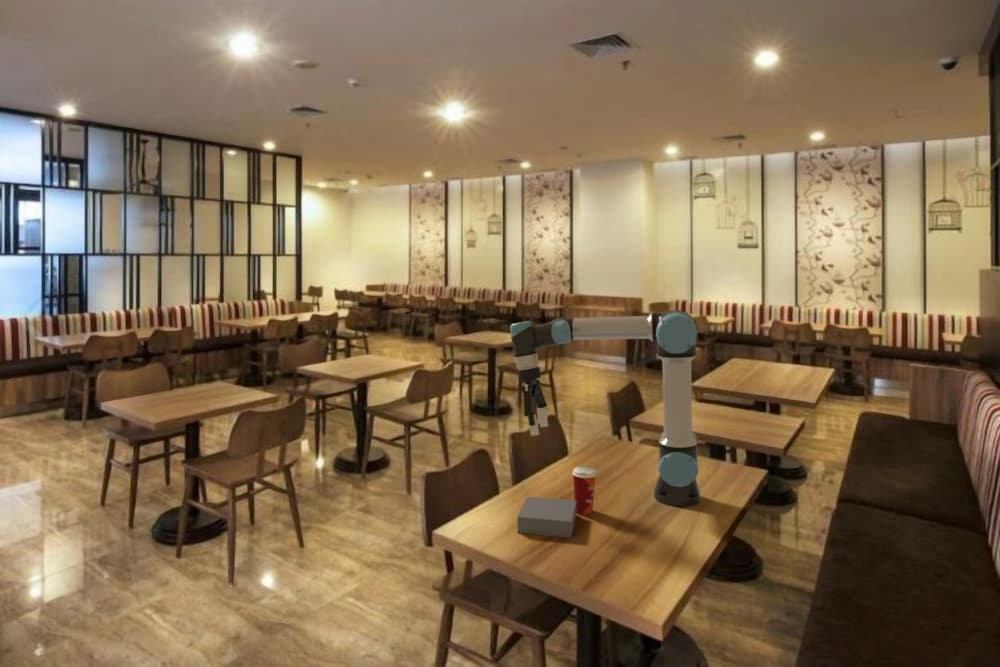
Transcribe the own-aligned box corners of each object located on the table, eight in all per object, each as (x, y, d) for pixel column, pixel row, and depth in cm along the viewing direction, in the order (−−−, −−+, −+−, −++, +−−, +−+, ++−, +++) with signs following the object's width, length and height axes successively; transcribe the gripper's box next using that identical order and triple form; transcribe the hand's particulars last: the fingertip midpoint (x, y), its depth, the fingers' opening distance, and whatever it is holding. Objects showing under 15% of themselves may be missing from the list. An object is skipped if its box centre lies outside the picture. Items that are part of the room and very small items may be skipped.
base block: (576, 515, 200) (576, 500, 200) (571, 537, 185) (571, 521, 184) (526, 511, 204) (526, 496, 203) (517, 532, 188) (517, 516, 188)
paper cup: (595, 517, 199) (595, 474, 198) (570, 515, 201) (571, 473, 199) (596, 507, 207) (597, 466, 205) (572, 505, 208) (573, 464, 207)
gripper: (526, 365, 222) (537, 424, 222) (507, 374, 198) (519, 440, 198) (547, 362, 220) (558, 422, 220) (529, 370, 196) (542, 437, 196)
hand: (539, 430), depth 209 cm, fingers open, 13 cm apart
